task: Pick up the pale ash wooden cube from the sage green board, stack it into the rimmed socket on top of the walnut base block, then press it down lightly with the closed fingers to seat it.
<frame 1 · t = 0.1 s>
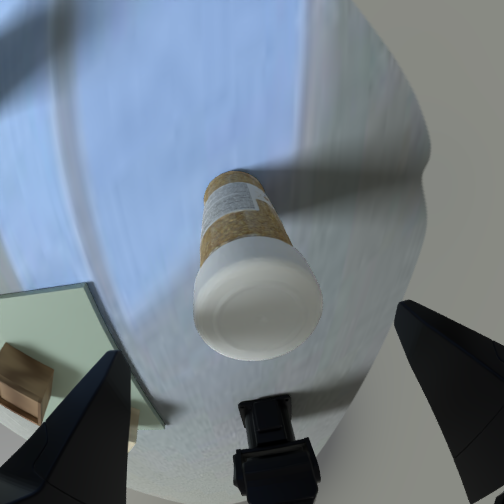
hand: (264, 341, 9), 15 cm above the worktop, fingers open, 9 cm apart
walnut socket block: (28, 371, 27), point 1 cm above the worktop, touching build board
sprinkles bottle: (233, 198, 22), on the worktop
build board: (55, 373, 28), on the worktop
ash block: (117, 411, 31), point 1 cm above the worktop, touching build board
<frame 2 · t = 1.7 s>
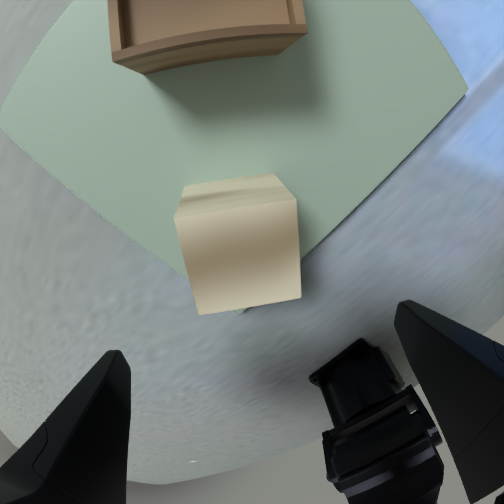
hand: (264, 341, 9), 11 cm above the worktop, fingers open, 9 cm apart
walnut socket block: (203, 4, 11), point 1 cm above the worktop, touching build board
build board: (242, 62, 14), on the worktop
ash block: (235, 220, 17), point 1 cm above the worktop, touching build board
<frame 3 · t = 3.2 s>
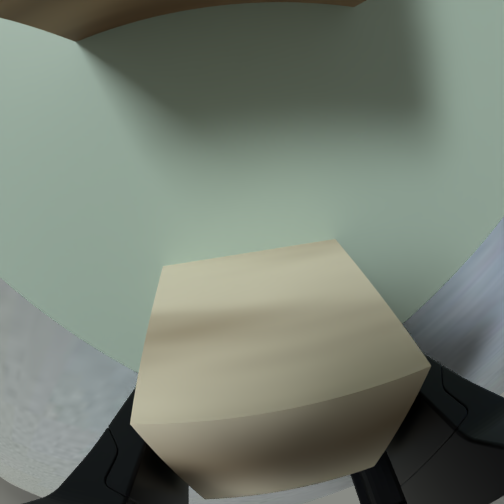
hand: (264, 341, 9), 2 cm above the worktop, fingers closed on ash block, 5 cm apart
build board: (280, 15, 6), on the worktop
ash block: (259, 320, 10), point 1 cm above the worktop, touching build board, gripper
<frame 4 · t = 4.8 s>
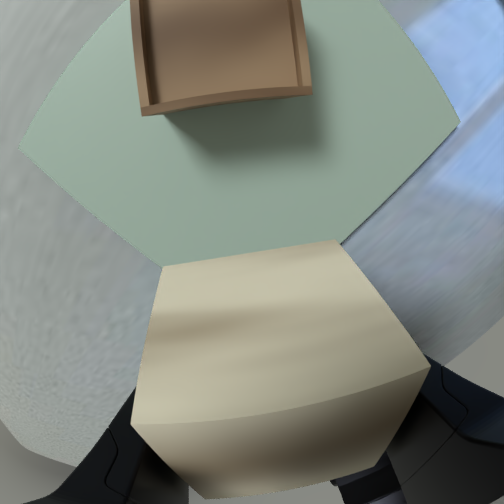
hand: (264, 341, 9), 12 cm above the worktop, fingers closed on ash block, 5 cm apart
walnut socket block: (217, 48, 14), point 1 cm above the worktop, touching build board
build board: (252, 103, 17), on the worktop
ash block: (259, 320, 10), point 11 cm above the worktop, touching gripper
when the fingers open (8 cm above the worktop, at t = 6.5 s): ash block drops 1 cm, resting on walnut socket block.
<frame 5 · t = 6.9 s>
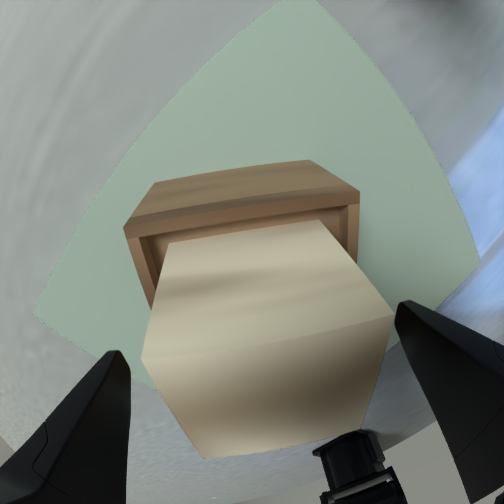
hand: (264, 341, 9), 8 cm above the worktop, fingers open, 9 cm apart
walnut socket block: (242, 240, 15), point 1 cm above the worktop, touching ash block, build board
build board: (278, 287, 17), on the worktop
ash block: (253, 293, 11), point 5 cm above the worktop, touching walnut socket block
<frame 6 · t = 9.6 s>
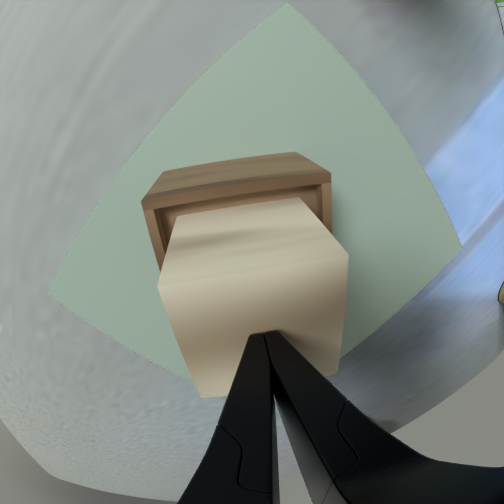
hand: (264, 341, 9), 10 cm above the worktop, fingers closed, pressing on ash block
walnut socket block: (238, 221, 17), point 1 cm above the worktop, touching ash block, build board
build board: (271, 266, 20), on the worktop
ash block: (246, 260, 13), point 5 cm above the worktop, touching gripper, walnut socket block
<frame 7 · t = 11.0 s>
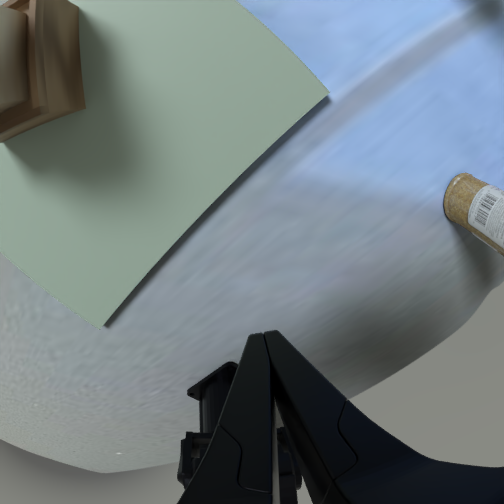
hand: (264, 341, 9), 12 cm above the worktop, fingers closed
walnut socket block: (33, 74, 12), point 1 cm above the worktop, touching ash block, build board
sprinkles bottle: (458, 195, 21), on the worktop
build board: (66, 118, 15), on the worktop
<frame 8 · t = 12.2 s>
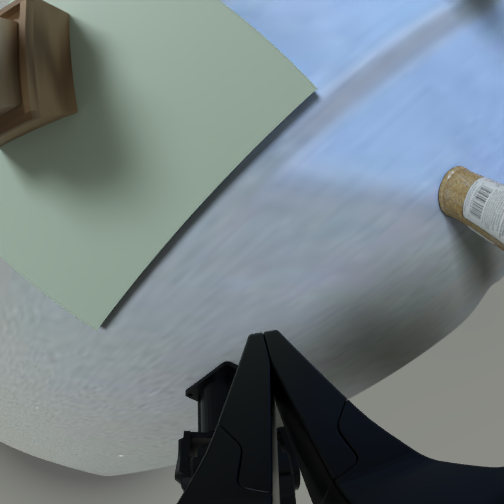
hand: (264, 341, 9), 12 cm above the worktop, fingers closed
walnut socket block: (27, 81, 12), point 1 cm above the worktop, touching ash block, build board
sprinkles bottle: (453, 189, 21), on the worktop
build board: (59, 122, 15), on the worktop
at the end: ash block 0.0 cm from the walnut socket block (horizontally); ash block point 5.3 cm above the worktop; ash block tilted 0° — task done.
